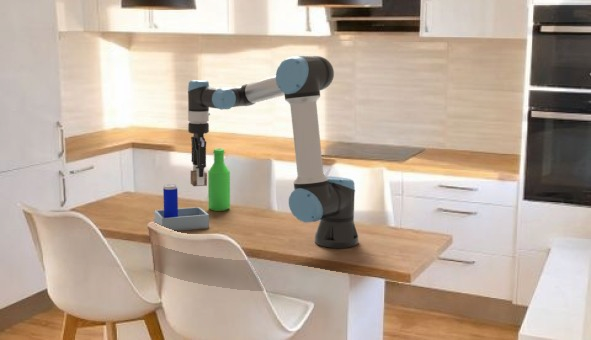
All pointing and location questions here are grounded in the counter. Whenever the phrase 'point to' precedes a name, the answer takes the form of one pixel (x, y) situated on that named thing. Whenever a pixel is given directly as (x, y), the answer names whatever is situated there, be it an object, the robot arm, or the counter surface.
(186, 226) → the box
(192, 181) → the walnut cube
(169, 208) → the beverage can
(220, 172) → the bottle
